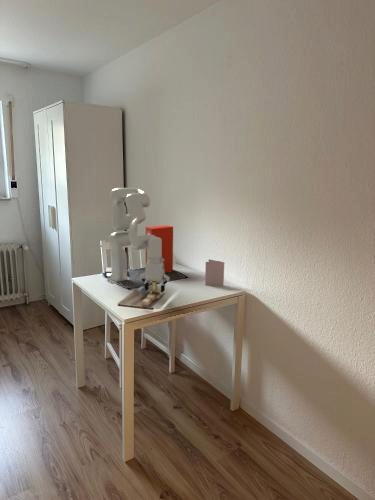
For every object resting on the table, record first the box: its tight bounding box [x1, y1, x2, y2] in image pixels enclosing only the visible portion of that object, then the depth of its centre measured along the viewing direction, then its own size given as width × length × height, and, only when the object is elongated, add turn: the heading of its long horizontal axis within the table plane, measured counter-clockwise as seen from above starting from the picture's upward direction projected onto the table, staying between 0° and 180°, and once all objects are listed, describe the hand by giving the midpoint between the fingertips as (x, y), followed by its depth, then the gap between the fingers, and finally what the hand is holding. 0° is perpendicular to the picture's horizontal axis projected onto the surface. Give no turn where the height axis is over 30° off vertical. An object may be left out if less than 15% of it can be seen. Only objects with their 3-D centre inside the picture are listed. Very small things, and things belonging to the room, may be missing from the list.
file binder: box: [145, 224, 174, 274], centre depth 245 cm, size 8×17×32 cm, turn 127°
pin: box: [151, 281, 158, 295], centre depth 195 cm, size 3×3×9 cm
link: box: [141, 290, 163, 307], centre depth 190 cm, size 18×6×2 cm, turn 165°
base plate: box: [117, 289, 166, 311], centre depth 193 cm, size 19×22×2 cm
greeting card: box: [204, 259, 225, 287], centre depth 221 cm, size 11×7×15 cm, turn 54°
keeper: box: [137, 285, 146, 294], centre depth 198 cm, size 2×7×4 cm, turn 165°
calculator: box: [104, 267, 129, 277], centre depth 242 cm, size 11×4×15 cm
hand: (154, 290), depth 195 cm, fingers open, 8 cm apart
